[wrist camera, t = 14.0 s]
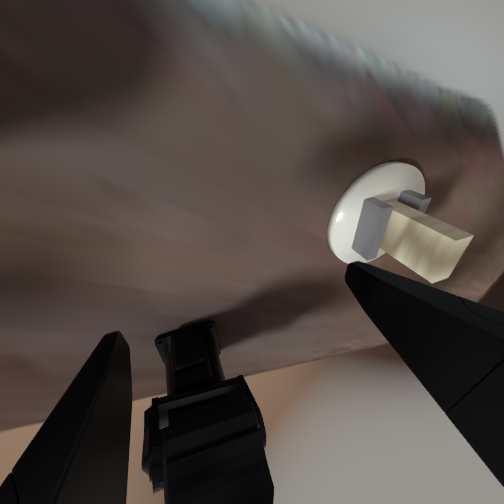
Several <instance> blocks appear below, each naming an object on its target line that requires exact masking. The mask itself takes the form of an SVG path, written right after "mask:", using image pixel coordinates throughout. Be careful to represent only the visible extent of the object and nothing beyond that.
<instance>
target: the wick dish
mask: <svg viewBox="0 0 504 504" xmlns="http://www.w3.org/2000/svg"><path fill="white" fill-rule="evenodd" d="M424 194H425V181H424V178H423V175H422V173H421V172H420V171H419V170H418V169H417V168H416V167H414V166H412V165H409V164H406V163H402V162H397V161H392V162H386V163H382V164H379V165H377V166H375V167H373V168H371V169H369V170H368V171H366V172H365V173H363V174H362V175H361V176H360V177H358V178H357V179H356V180H355V181H354V182H353V183H352V184H351V185H350V186H349V187H348V188H347V190H346V191H345V192H344V193H343V195H342V196H341V198H340V199H339V201H338V202H337V204H336V206H335V208H334V210H333V212H332V215H331V218H330V220H329V225H328V231H327V239H328V244H329V247H330V249H331V251H332V252H333V253H334V254H335V255H336V256H337V257H338V258H339V259H340V260H342V261H343V262H345V263H348V264H349V263H351V262H355V261H360V262H363V263H366V262H369V261H372V260H374V259H376V258H378V257H380V256H381V255H383V254H384V253H386V252H385V251H384V250H382V249H381V248H380V245H381V242H382V240H383V237H384V234H385V231H386V228H387V225H388V222H389V219H390V216H391V213H392V211H393V208H394V206H391V205H389V204H387V203H385V202H383V201H386V200H391V199H393V200H396V201H398V202H400V203H402V204H404V205H407V206H409V207H411V208H413V209H416V210H418V211H420V212H422V213H425V212H426V210H427V208H428V205H429V203H430V201H431V199H432V198H431V197H428V196H425V195H424Z"/></svg>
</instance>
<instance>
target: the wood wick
mask: <svg viewBox="0 0 504 504" xmlns="http://www.w3.org/2000/svg"><path fill="white" fill-rule="evenodd" d="M383 202H385V203H387V204H389V205H391V206H394V208H393V211H392V213H391V216H390V219H389V222H388V225H387V228H386V231H385V234H384V237H383V240H382V242H381V245H380V248H381V249H382V250H384V251H385V252H387V253H388V254H390V255H391V256H392V257H394V258H395V259H397V260H398V261H400V262H401V263H403V264H404V265H406V266H407V267H409V268H410V269H412V270H413V271H414V272H416V273H417V274H419V275H420V276H422V277H423V278H425V279H426V280H428V281H429V282H431V283H435V282H438V281H440V280H443V279H446V278H448V277H449V276H450V274H451V272H452V271H453V269H454V267H455V266H456V264H457V262H458V261H459V259H460V257H461V256H462V254H463V252H464V251H465V249H466V248H467V246H468V244H469V243H470V241H471V239H472V238H473V236H474V235H472V234H470V233H467V232H465V231H463V230H461V229H458V228H456V227H454V226H452V225H449V224H447V223H445V222H443V221H440V220H438V219H436V218H434V217H431V216H429V215H427V214H425V213H422V212H420V211H418V210H416V209H413V208H411V207H409V206H407V205H404V204H402V203H400V202H398V201H396V200H393V199H391V200H386V201H383Z"/></svg>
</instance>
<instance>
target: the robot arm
mask: <svg viewBox="0 0 504 504" xmlns="http://www.w3.org/2000/svg"><path fill="white" fill-rule="evenodd" d="M345 282H346V284H347V285H348V287H349V288H350V290H351V291H352V293H353V294H354V296H355V298H356V299H357V301H358V302H359V304H360V305H361V307H362V308H363V310H364V311H365V313H366V314H367V315H368V317H369V318H370V319H371V320H372V322H373V323H374V324H375V325H376V327H377V328H378V329H379V330H380V332H381V333H382V334H383V336H384V337H385V338H386V339H387V341H388V342H389V343H390V344H391V345H392V347H393V348H394V349H395V351H396V352H397V353H398V354H399V356H400V357H401V358H402V359H403V361H404V362H405V363H406V364H407V366H408V367H409V368H410V370H411V371H412V372H413V373H414V375H415V376H416V377H417V378H418V380H419V381H420V382H421V383H422V385H423V386H424V387H425V388H426V390H427V391H428V392H429V393H430V395H431V396H432V397H433V399H434V400H435V401H436V402H437V404H438V405H439V406H440V407H441V409H442V410H443V411H444V412H445V414H446V415H447V416H448V418H449V419H450V420H451V422H452V423H453V424H454V425H455V427H456V428H457V429H458V430H459V432H460V433H461V434H462V435H463V437H464V438H465V439H466V440H467V442H468V443H469V444H470V446H471V447H472V448H473V449H474V451H475V452H476V453H477V454H478V456H479V457H480V458H481V459H482V461H483V462H484V463H485V464H486V466H487V467H488V468H489V469H490V471H491V472H492V473H493V475H494V476H495V477H496V478H497V480H498V481H499V482H500V483H501V484H502V486H503V487H504V311H501V310H498V309H495V308H491V307H488V306H485V305H482V304H479V303H477V302H474V301H471V300H468V299H465V298H462V297H459V296H458V297H457V296H456V295H454V294H451V293H448V292H445V291H442V290H440V289H437V288H434V287H431V286H428V285H425V284H423V283H420V282H417V281H414V280H411V279H408V278H406V277H403V276H400V275H397V274H394V273H392V272H389V271H386V270H383V269H380V268H377V267H375V266H372V265H369V264H366V263H363V262H360V261H355V262H351V263H349V264H348V266H347V270H346V274H345ZM155 345H156V347H157V349H158V352H159V354H160V356H161V358H162V360H163V362H164V364H165V367H166V383H167V396H164V397H160V398H158V397H156V398H152V406H150V408H148V409H147V410H146V411H145V413H144V440H143V441H144V442H143V453H142V470H143V471H144V472H145V473H146V474H147V475H149V478H150V482H152V484H153V494H154V493H157V492H160V491H162V490H164V498H165V504H273V497H274V485H273V482H272V478H271V475H270V471H269V468H268V464H267V460H266V455H265V451H264V448H265V446H266V433H265V426H264V422H263V418H262V415H261V412H260V409H259V407H258V405H257V403H256V401H255V399H254V397H253V395H252V393H251V391H250V389H249V387H248V385H247V383H246V381H245V379H244V377H243V375H239V376H237V377H236V378H232V379H228V380H225V377H224V373H223V370H222V366H221V362H220V358H219V355H220V353H221V352H220V347H219V342H218V337H217V332H216V327H215V323H214V321H207V322H204V323H201V324H198V325H195V326H191V327H188V328H185V329H182V330H178V331H175V332H172V333H169V334H166V335H162V336H159V337H157V338H155ZM131 413H132V380H131V362H130V349H129V345H128V343H127V342H126V340H125V338H124V337H123V335H122V333H121V332H120V331H115V332H111V333H108V334H106V335H104V336H103V338H102V339H101V341H100V342H99V344H98V345H97V346H96V348H95V349H94V351H93V352H92V354H91V355H90V357H89V358H88V360H87V361H86V362H85V364H84V365H83V367H82V368H81V370H80V371H79V373H78V374H77V376H76V377H75V378H74V380H73V381H72V383H71V384H70V386H69V387H68V389H67V390H66V392H65V393H64V394H63V396H62V397H61V399H60V400H59V402H58V403H57V405H56V406H55V408H54V409H53V410H52V412H51V413H50V415H49V416H48V418H47V419H46V421H45V422H44V424H43V425H42V427H41V428H40V430H39V431H38V432H37V434H36V435H35V437H34V438H33V440H32V441H31V443H30V444H29V445H28V447H27V448H26V450H25V451H24V453H23V454H22V456H21V457H20V459H19V460H18V461H17V463H16V464H15V466H14V467H13V469H12V473H10V474H9V475H8V476H7V477H6V479H5V480H4V482H3V483H2V485H1V486H0V504H126V496H127V495H126V494H127V479H128V462H129V447H130V430H131ZM166 426H167V427H166ZM163 427H164V428H163ZM160 428H162V429H160Z"/></svg>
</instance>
